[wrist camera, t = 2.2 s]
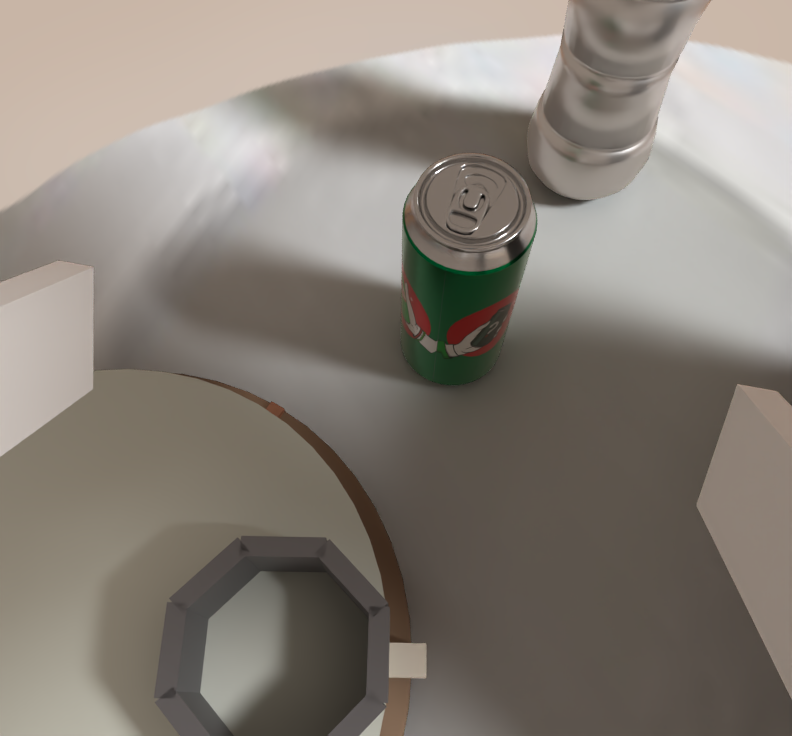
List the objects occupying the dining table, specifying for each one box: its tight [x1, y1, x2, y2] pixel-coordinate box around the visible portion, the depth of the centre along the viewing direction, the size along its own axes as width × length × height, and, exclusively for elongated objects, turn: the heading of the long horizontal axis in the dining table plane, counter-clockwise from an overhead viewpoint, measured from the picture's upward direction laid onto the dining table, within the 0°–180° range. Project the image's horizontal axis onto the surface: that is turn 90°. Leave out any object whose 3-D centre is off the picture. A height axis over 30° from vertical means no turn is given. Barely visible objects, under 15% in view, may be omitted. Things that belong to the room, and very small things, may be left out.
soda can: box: [401, 153, 537, 385], centre depth 33 cm, size 5×5×12 cm
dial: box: [0, 369, 426, 736], centre depth 27 cm, size 25×23×5 cm
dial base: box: [172, 373, 411, 736], centre depth 31 cm, size 25×25×2 cm
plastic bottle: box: [527, 0, 711, 200], centre depth 33 cm, size 6×7×20 cm
